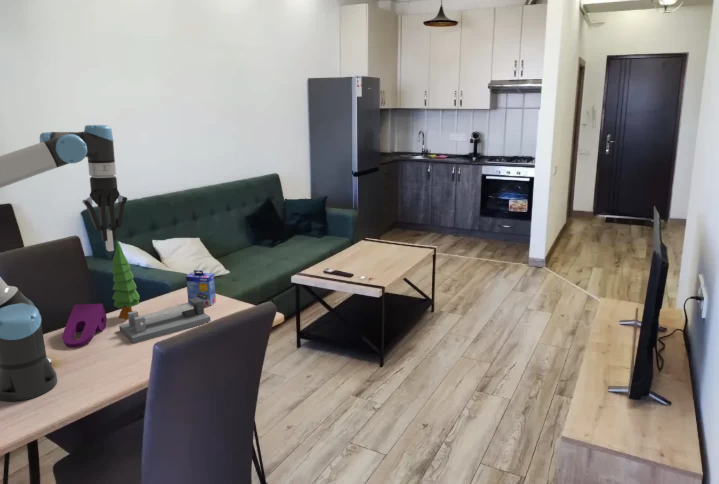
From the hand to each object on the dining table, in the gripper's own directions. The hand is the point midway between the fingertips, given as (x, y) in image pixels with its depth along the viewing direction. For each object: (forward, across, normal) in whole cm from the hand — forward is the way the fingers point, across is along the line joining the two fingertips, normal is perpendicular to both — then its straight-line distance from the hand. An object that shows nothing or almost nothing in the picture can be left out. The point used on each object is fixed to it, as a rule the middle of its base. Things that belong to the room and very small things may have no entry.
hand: (110, 250), depth 172 cm
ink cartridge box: (+33, +39, +19) cm, 54 cm away
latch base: (+33, +18, +6) cm, 38 cm away
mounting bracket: (+34, -6, +16) cm, 38 cm away
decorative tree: (+33, +12, +24) cm, 43 cm away
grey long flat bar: (+29, +18, +6) cm, 34 cm away
